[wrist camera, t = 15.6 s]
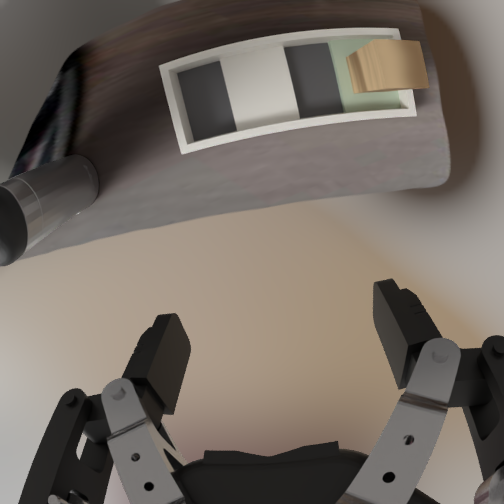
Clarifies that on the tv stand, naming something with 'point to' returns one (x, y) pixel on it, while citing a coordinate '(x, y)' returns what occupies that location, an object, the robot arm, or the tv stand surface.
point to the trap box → (274, 87)
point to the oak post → (387, 66)
